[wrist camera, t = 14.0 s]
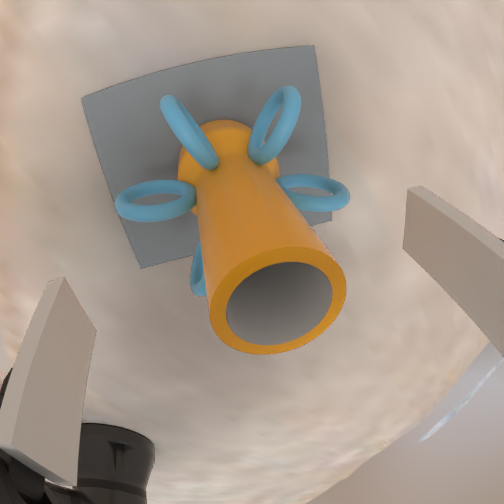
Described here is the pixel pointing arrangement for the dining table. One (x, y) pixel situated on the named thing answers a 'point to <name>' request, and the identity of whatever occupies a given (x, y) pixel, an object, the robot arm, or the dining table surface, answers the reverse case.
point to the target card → (202, 110)
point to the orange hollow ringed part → (250, 228)
